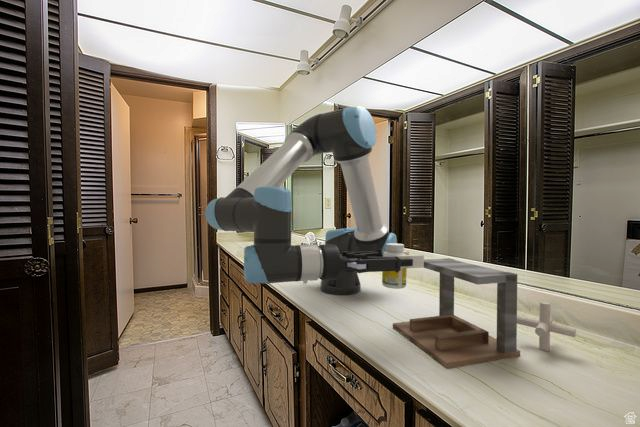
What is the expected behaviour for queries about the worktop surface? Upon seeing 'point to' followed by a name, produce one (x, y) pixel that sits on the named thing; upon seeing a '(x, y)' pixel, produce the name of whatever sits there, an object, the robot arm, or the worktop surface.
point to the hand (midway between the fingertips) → (414, 259)
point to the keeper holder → (457, 334)
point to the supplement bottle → (392, 277)
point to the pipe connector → (545, 326)
